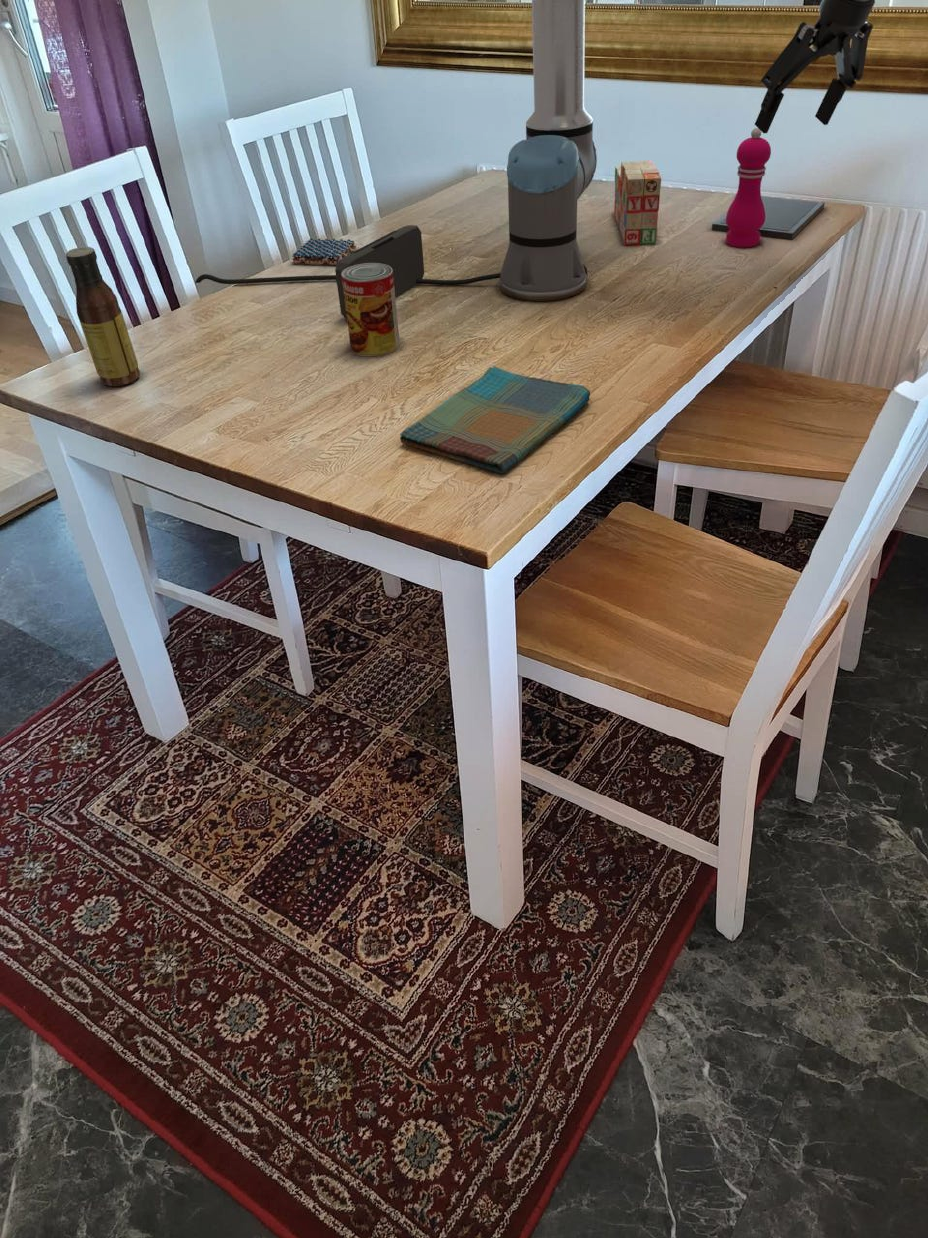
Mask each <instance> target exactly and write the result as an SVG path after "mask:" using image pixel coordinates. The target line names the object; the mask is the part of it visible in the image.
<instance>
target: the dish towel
mask: <svg viewBox="0 0 928 1238" xmlns="http://www.w3.org/2000/svg"><path fill="white" fill-rule="evenodd" d="M590 396H591V391H590V390H589V388H587V387H586V386H585V385H582V384H573V383H567V382H566V383H565V382H559V381H552V380H548V379H543V378H537V377H529V376H524V375H522V374H516V373H513V372H510V371H508V370H504V369H503V368H499V367H497V366H495V365H493V366H492V367H491V366H489V367H488V368H487V370H486V371H485V372H484V374H483V375H482V376H481V377H480V378H478V379H476V380H475V381H474V382H473V383H471V384H470V385H467V386H466V387H464V388H463V389H461V390H460V391H458V392H457V393H455V394H453V395H452V396H451V397H450V398H448V399H446V400H445V401H443V403H441V404H440V405H439V406H437V407H436V408H435V409H433V410H432V411H430V412H429V413H427V414H426V415H425V416H423V417H422V418H420V419H419V420H417V421H415V423H413V424H411V425H409V426H408V427H406V428H405V429H404V430H403V431H402V432H400V435H399V436H400V437H399V441H400V443H402V444H404V445H406V446H411V447H414V448H417V449H420V450H423V451H425V452H426V451H427V452H430V453H434V454H437V455H440V456H443V457H445V458H450V459H453V460H455V461H459V462H462V463H466V464H467V465H471V466H474V467H478V468H481V469H485V470H487V471H491V472H495V473H498V474H505V473H506V472H507V471H509V470H510V469H511V468H512V467H514V466H515V465H516V464H518V462H520V461H521V460H522V459H524V458H526V456H527V455H528V454H529V453H531V452H532V451H533V449H535V448H536V447H537V446H539V445H540V444H541V443H542V442H543V441H544V440H545V439H548V437H549V436H550V435H551V434H553V433H554V432H556V431H557V430H558V429H559V428H560V427H562V426H563V425H564V424H565V423H566V422H568V421H569V420H571V418H572V417H573V416H575V415H576V414H577V413H578V412H579V411H580V410H581V409H582V408H583V406H585V404H587V403H589V401H590V399H591V398H590Z"/></svg>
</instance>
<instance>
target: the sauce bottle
mask: <svg viewBox="0 0 928 1238" xmlns="http://www.w3.org/2000/svg"><path fill="white" fill-rule="evenodd" d="M65 257H66V258H65V259H66V262H67V264H68V266H70V269H71V272H72V275H73V279H74V284H75V289H76V291H75V292H76V294H75V295H76V296H75V306H76V307H75V308H76V315H77V318H78V320H79V324H80V327H81V329H82V332H83V336H84V338H85V341H86V344H87V347H88V350H89V353H90V356H91V359H92V362H93V366H94V369H95V371H96V374H97V375H98V377H99V378H100V381H101V383H102V384H103V385H105V386H108V387H122V386H125V385H126V386H127V385H129V384H132V383H134V382H136V381H137V380H138V379H139V378H140V375H141V372H140V371H141V370H140V369H139V363H138V359H137V356H136V353H135V350H134V347H133V343H132V341H131V337H130V333H129V331H128V327H127V324H126V321H125V317H124V314H123V311H122V309H121V307H120V305H119V302H118V301H119V300H118V297H117V296H116V294H115V293H114V291H113V289H112V288H111V286H110V285H108V284H107V282H106V281H105V280H104V279H103V275H102V274H101V270H100V267H99V264H98V261H97V259H98V257H97V253H96V251H95V249H94V247H91V246H80V247H76V248H72V249H70V250H68V251H67V252H66V253H65Z"/></svg>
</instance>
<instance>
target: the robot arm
mask: <svg viewBox="0 0 928 1238" xmlns="http://www.w3.org/2000/svg"><path fill="white" fill-rule="evenodd" d="M875 3H876V0H821V2H820V4H819V8H818V10H819V18H818V19H817V21H816V22H815V23H814V25H809V24H808V23H806V22H805V21H803V22H801V23H800V24H799V26H798V27H797V29H796V31H795V34H794V35H793V37H792V39H791V40H790V41H789V42H788V44H787V45H786V46H785V47H784V49H783V50H782V51H781V53H780V54H779V55H778V57H777V58H776V59H775V61H774V62H773V63H772V64H771V66H770V67H769V69H767V71H766V72H765V74H764V75H763V77H762V78H761V79H760V83H761V84H762V85H763V86H764V87H765V88H766V89H767V90H766V93H765V95H764V98H763V99H762V102H761V104H760V110H759V113H758V115H757V118H756V120H755V122H754V126H755V127H756V128H759V129H760V130H761V133H763V134H768V132H769V130H770V128H771V126H772V123H773V122H774V119H775V116H776V114H777V112H778V110H779V108H780V105H781V103H782V102H783V101H782V100H783V99H784V97H785V93H783V91H785V89H786V88H787V87H788V86H789V85H790V84H791V83H793V81H794V80H796V78H797V77H798V76H799V75H800V74H801V73H802V72H804V70H806V68H807V67H809V65H810V64H811V63H813V62H816V61H818V60H819V59H820V58H822V57H826V56H834V60H835V67H836V74H837V78H836V77H834V78H832V80H831V82H830V83H829V86H828V88H827V90H826V92H825V94H824V96H823V98H822V101H821V103H820V105H819V107H818V109H817V111H816V113H815V115H814V117H815V118H816V119H817V120H818V121H819V122H820V123H822V124H823V126H827V125H829V122H830V121H831V119H832V117H833V115H834V112H835V110H836V109H837V107H838V104H839V103H840V102H841V100H842V98H843V96H844V94H845V93H846V91H847V88H849V89H853V88H854V87H855V86H856V81H857V82H859V81H861V80H862V79H863V77H864V69H865V64H866V56H867V49H868V43H869V38H870V35H871V33H872V31H873V28H874V24H872V23H871V22H870V21H869V20H868V18H869V16H870V14H871V11H872V10H873V8H874V6H875ZM585 12H586V0H531V23H532V24H531V25H532V26H531V27H532V65H533V66H532V69H533V112H532V114H531V115H530V117H528V119H527V120H526V122H525V139H522V140H520V141H518V142H517V143H515V144H514V145H513V146H512V147H511V148H510V151H509V152H508V156H507V165H506V176H507V198H508V199H507V200H508V201H507V202H508V245H507V250H506V253H505V257H504V261H503V264H502V267H501V271H500V272H497V273H491V274H485V275H480V276H474V277H470V278H465V279H430V278H429V279H428V278H423V279H417V280H416V283H417V284H416V285H434V286H435V285H436V286H437V285H438V286H460V285H461V286H462V285H469V284H474V283H479V282H483V281H489V280H495V279H499V289H500V291H501V292H502V293H503V294H505V295H506V296H508V297H511V298H514V299H517V300H522V301H529V302H530V301H531V302H549V301H557V300H558V301H559V300H564V299H568V298H570V297H571V298H572V297H574V296H576V295H578V294H580V293H581V292H583V291H584V290H585V288H586V286H587V277H588V276H589V274H588V268H587V266H586V265H585V264H584V262H583V259H582V254H581V252H580V248H579V245H578V242H577V235H578V234H577V232H578V231H577V228H578V227H577V226H578V200H579V199H580V197H581V196H582V195H583V194H584V192H585V190H587V188H588V187H589V186H590V184H591V183H592V180H593V179H594V177H595V173H596V169H597V165H598V153H597V147H596V145H595V142H594V138H593V137H594V120H593V116H591V114H590V113H589V112H588V111H587V110H586V108H585V39H586V38H585V36H586V35H585V32H586V31H585V25H586V24H585V23H586V22H585V20H586V19H585V18H586V17H585V14H586V13H585ZM811 46H812V48H811ZM204 280H209V281H212V282H215V283H217V284H222V285H248V284H263V283H265V284H267V283H284V282H305V281H307V282H308V281H310V282H311V281H337V280H336V274H326V275H325V274H323V275H322V274H321V275H295V276H276V277H275V276H274V277H257V278H256V277H255V278H237V279H236V278H235V279H234V278H233V279H232V278H230V279H229V278H221V277H217V276H215V275H212V274H209V273H207V274H206V273H203V274H201V275H199V276H198V277H197V278H196V279H195V281H194V283H195V284H199V283H201V282H202V281H204Z"/></svg>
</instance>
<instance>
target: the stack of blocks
mask: <svg viewBox="0 0 928 1238" xmlns="http://www.w3.org/2000/svg"><path fill="white" fill-rule="evenodd" d="M661 187H662V177H661V174H660V171H659V170H658V167H657V166H656V164H655V163H654V161H653V160H652V159H651V160H636V161H621V163H620V165H617V166H615V168H614V203H613V204H614V205H613V206H614V209H613V210H614V211H613V212H614V215H615V220H616V222H617V223H616V224H617V226H618V228H619V231H620V234H621V238H622V242H623V245H624V246H639V245H656V243H657V237H658V218H659V210H660V200H661V189H662V188H661Z"/></svg>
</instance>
